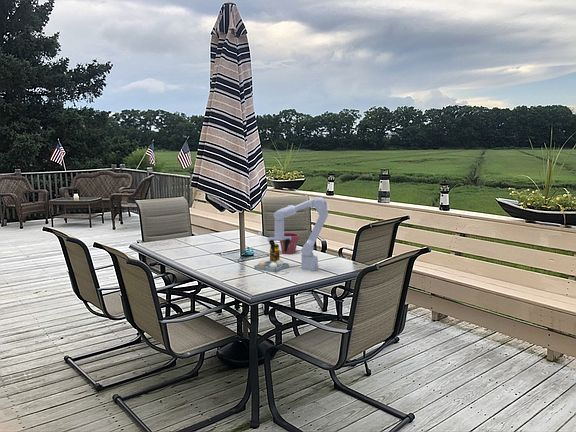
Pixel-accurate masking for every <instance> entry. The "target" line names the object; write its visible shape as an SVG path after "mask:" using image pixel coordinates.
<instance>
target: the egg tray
mask: <svg viewBox="0 0 576 432" xmlns="http://www.w3.org/2000/svg"><path fill="white" fill-rule="evenodd" d="M264 262H265V263H266V267H261V266H258V264H256V265H254V266H253V267H254V270H256V271H257V270H258V271H264V272H269V273H276V272H277V273H279V271H280V272H281V271H283V270H285V269H287V268H289V266H290V265H289V263H287V262H286V263H285V262H283V265H282V266H278V265H277V268H275V269H274V268H270V267H269V265H270V264H271V263H272V262H274V261H270V260H267V261H264ZM274 263H276V262H274Z"/></svg>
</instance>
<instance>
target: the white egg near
mask: <svg viewBox="0 0 576 432" xmlns="http://www.w3.org/2000/svg"><path fill="white" fill-rule="evenodd" d="M283 263H284V261H283V260H282V259H280V260H278V261H276V264H277V265H278V266H282V265H283Z"/></svg>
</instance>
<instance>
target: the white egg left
mask: <svg viewBox="0 0 576 432" xmlns="http://www.w3.org/2000/svg"><path fill="white" fill-rule="evenodd" d="M269 267H270V268H274V269H275V268H277V264H276V263H274V262H272V263H271V264H270V265H269Z"/></svg>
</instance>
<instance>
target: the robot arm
mask: <svg viewBox="0 0 576 432" xmlns="http://www.w3.org/2000/svg"><path fill="white" fill-rule="evenodd" d="M306 208H314V209H315V210H316V211H317V213H318V215H319V216H318V218H317V220H316V221H315V224H314V227H313V228H312V231H311V233H310V234H309V237H308V239H307V241H306V242H305V243H304V244H303V246H302V247H301V249H300V250H301V251H300V252H301V269H302V270H307V271H308V270H309V271H313V272H314V271H317V270H319V259H318V256H316V255H314V252H313V251H314V249H315V246H314V245H315V244H316V241H317V239H318V237H319V235H320V233H321V231H322V229H323V227H324V224H325V222H326V220H327V218H328V216H329V211H328V203H327V201H326V199H325V198H324V197H321V196H318V197H316V198H315V197H314V198H311V199H308V200H306V201H304V202H301V203H299V204H297V205H293V204H291V205H290V204H288V205H287V206H286V207H281V208H280V209H278V210H276V211H274V213H273V218H274V236H271V237H267V242H268V243H269V246H270V247H271V248H272V253H275V249H274V247H275V244H276V241H279V242H280V240H284V252H287V248H288V245H289V243H290V240H291V236H284V233H285V219H286V218H288V217H291V216H293V215H295V214H296V213H297V212H298V211H300V210H303V209H306Z"/></svg>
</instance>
